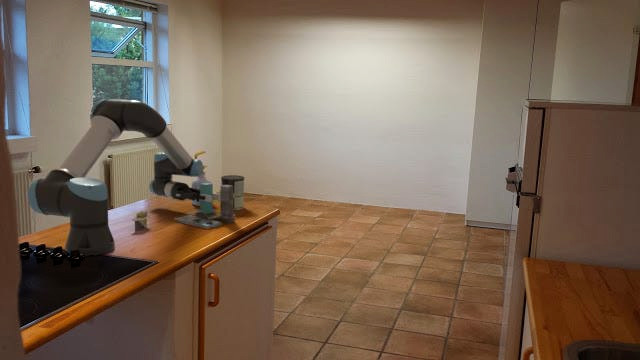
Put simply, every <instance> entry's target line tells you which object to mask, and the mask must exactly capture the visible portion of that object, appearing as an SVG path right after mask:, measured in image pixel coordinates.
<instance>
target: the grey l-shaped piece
mask: <svg viewBox="0 0 640 360" xmlns="http://www.w3.org/2000/svg"><path fill="white" fill-rule="evenodd" d="M221 185H222V184H221ZM221 185H220V189H219V191H220V193H219V194H220V201H219V203H220V205H219V207H220V213H216V212H213V213H209V214H203V213H194V216H196V217H200V218H205V219H209V220H213V221H218V222H222V224H226V225H230V224H234V223H236V221H235V220H236V218H237V217H236V214H234V210H233V186H232V185H222V186H221Z"/></svg>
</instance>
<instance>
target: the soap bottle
mask: <svg viewBox="0 0 640 360" xmlns="http://www.w3.org/2000/svg"><path fill="white" fill-rule="evenodd" d="M202 154H206V151H205V150H202V151H199V152H196V153H195V154H194V159H197V160H198V156H200V155H202ZM206 168H208V166H207V165H205V164H203V171H202V174H201V175H200V176H198V177H195V178H194V179H193V180H192V182H191V188H193V189H198V188H200V184H202V183H211V184H213V183H212V181H211V180H210V179H209V178H207V177H206V171H204V170H205V169H206ZM191 205H193V206H197V207H200V199H199V202H197V200H194V201H193V200H191Z"/></svg>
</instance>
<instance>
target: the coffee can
mask: <svg viewBox="0 0 640 360" xmlns="http://www.w3.org/2000/svg"><path fill="white" fill-rule="evenodd" d="M220 179H221V183H220V184H221V185H220V186H222V185H232V186H233V211H240V210H243V209H244V208H245V206H244V205H245V176H243V175H233V174H232V175H228V174H227V175H222V176H221V178H220Z"/></svg>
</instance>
